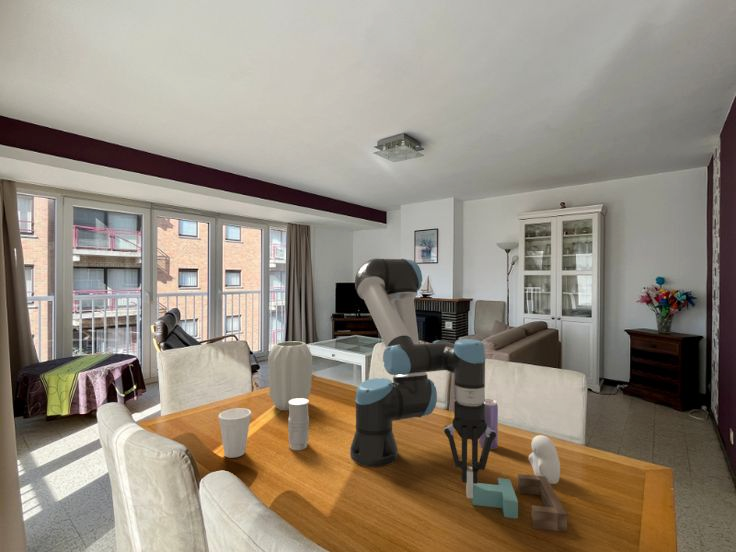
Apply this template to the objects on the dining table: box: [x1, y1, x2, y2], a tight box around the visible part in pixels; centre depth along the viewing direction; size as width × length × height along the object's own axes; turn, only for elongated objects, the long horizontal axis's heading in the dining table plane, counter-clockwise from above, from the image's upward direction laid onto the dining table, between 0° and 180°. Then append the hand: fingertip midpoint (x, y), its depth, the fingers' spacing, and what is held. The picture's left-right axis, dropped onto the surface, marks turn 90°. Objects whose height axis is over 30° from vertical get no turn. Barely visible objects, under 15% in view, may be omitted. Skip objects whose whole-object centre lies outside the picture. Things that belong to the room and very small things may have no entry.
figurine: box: [528, 434, 561, 485], centre depth 106 cm, size 7×8×12 cm
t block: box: [471, 477, 519, 519], centre depth 94 cm, size 10×10×4 cm
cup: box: [217, 407, 252, 459], centre depth 120 cm, size 10×10×13 cm
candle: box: [287, 398, 310, 451], centre depth 126 cm, size 7×7×15 cm
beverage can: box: [478, 398, 499, 451], centre depth 126 cm, size 6×6×15 cm
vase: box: [267, 340, 313, 412], centre depth 164 cm, size 20×20×28 cm
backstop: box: [517, 473, 568, 533], centre depth 92 cm, size 7×16×4 cm, turn 170°
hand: (469, 494), depth 95 cm, fingers closed
